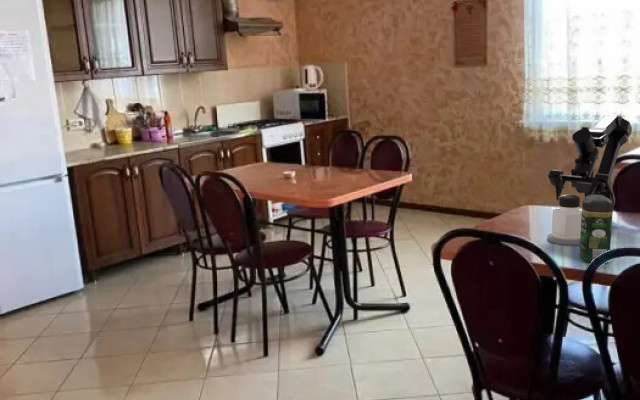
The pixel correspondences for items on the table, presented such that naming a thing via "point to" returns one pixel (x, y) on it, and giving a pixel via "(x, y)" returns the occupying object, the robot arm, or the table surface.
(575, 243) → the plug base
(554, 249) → the table surface
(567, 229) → the medicine bottle
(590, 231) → the coffee jar
